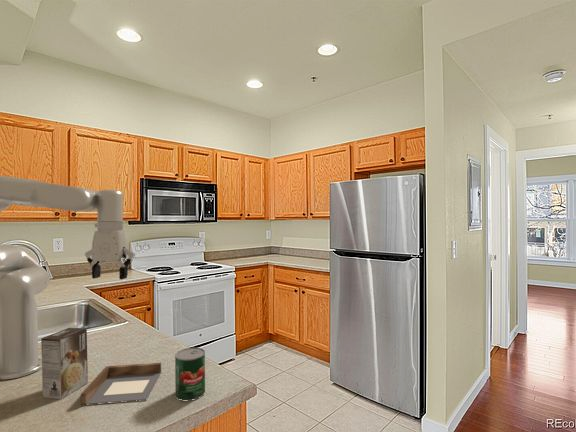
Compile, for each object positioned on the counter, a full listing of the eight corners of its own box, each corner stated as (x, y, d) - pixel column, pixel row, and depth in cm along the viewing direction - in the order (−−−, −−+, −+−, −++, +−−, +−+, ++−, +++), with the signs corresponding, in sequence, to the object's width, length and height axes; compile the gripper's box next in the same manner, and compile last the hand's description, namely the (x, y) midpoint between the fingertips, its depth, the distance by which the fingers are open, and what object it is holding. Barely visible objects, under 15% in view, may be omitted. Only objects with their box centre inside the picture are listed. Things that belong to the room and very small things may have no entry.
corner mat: (80, 405, 85) (80, 403, 85) (106, 375, 101) (106, 374, 101) (146, 400, 88) (146, 398, 88) (161, 372, 103) (161, 370, 103)
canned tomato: (189, 404, 86) (188, 362, 85) (168, 396, 90) (168, 355, 90) (211, 390, 92) (211, 351, 92) (191, 383, 96) (191, 345, 96)
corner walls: (80, 405, 85) (80, 394, 85) (106, 375, 101) (106, 366, 101) (146, 400, 88) (146, 389, 88) (161, 372, 103) (161, 362, 103)
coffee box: (70, 381, 98) (69, 326, 98) (88, 383, 97) (88, 328, 97) (41, 397, 89) (40, 338, 89) (61, 400, 88) (60, 339, 88)
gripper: (78, 227, 109) (77, 279, 109) (127, 227, 107) (127, 281, 107) (94, 226, 116) (93, 275, 116) (140, 227, 114) (140, 277, 114)
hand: (109, 278), depth 111 cm, fingers open, 9 cm apart
